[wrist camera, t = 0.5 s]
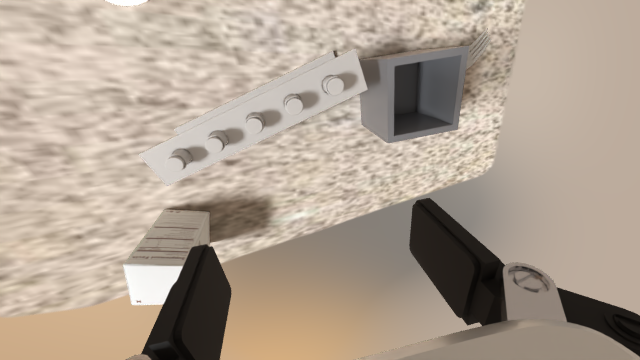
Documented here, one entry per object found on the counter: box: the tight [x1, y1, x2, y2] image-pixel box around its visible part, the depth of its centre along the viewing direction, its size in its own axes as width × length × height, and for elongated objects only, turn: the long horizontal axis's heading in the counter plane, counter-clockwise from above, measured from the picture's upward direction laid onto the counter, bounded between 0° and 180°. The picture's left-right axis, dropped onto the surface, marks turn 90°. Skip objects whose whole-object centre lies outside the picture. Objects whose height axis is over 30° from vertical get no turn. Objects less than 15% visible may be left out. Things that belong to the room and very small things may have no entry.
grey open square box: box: [359, 46, 469, 143], centre depth 32 cm, size 10×10×10 cm
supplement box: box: [123, 209, 210, 305], centre depth 36 cm, size 7×7×13 cm
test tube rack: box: [139, 49, 368, 186], centre depth 29 cm, size 25×4×13 cm, turn 113°
